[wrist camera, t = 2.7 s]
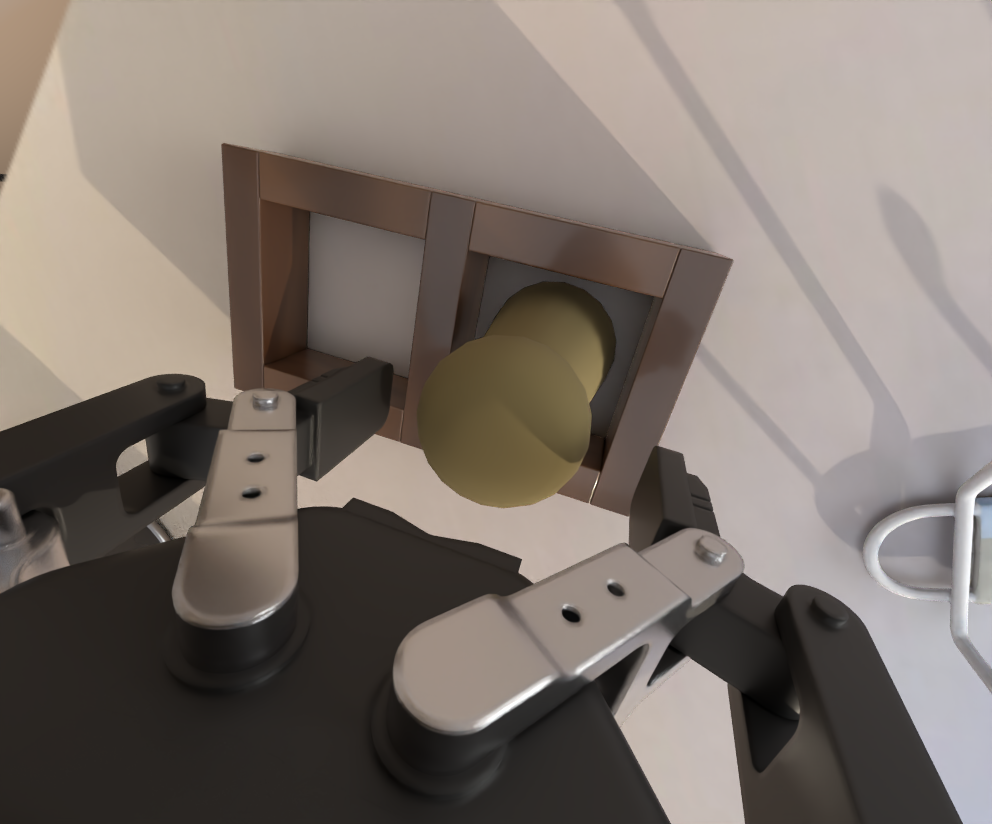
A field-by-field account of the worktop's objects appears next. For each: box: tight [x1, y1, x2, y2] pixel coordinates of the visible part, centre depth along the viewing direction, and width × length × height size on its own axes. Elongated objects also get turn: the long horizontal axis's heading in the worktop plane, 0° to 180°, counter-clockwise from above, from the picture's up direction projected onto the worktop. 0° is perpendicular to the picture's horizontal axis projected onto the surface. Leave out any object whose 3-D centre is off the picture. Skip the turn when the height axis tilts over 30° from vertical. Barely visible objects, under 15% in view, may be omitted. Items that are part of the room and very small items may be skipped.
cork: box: [416, 282, 616, 508], centre depth 17 cm, size 6×6×11 cm
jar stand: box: [222, 143, 733, 517], centre depth 21 cm, size 21×11×4 cm, turn 79°
